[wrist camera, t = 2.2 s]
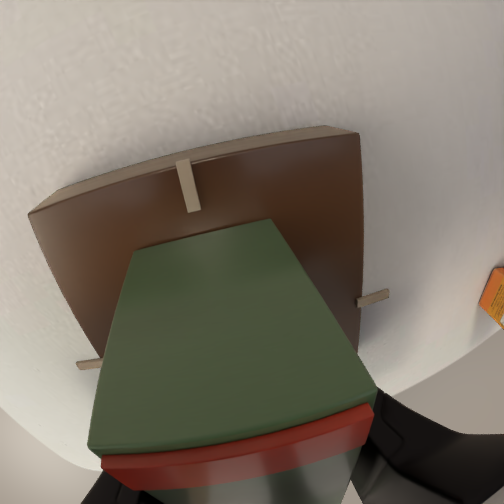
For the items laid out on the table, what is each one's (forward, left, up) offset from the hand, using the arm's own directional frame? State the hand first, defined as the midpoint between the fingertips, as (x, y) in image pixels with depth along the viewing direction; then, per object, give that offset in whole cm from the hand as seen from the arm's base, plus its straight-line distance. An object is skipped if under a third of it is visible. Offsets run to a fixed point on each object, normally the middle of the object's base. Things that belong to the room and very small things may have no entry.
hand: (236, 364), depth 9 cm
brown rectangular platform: (0, 0, -4) cm, 4 cm away
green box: (0, 0, -1) cm, 1 cm away
